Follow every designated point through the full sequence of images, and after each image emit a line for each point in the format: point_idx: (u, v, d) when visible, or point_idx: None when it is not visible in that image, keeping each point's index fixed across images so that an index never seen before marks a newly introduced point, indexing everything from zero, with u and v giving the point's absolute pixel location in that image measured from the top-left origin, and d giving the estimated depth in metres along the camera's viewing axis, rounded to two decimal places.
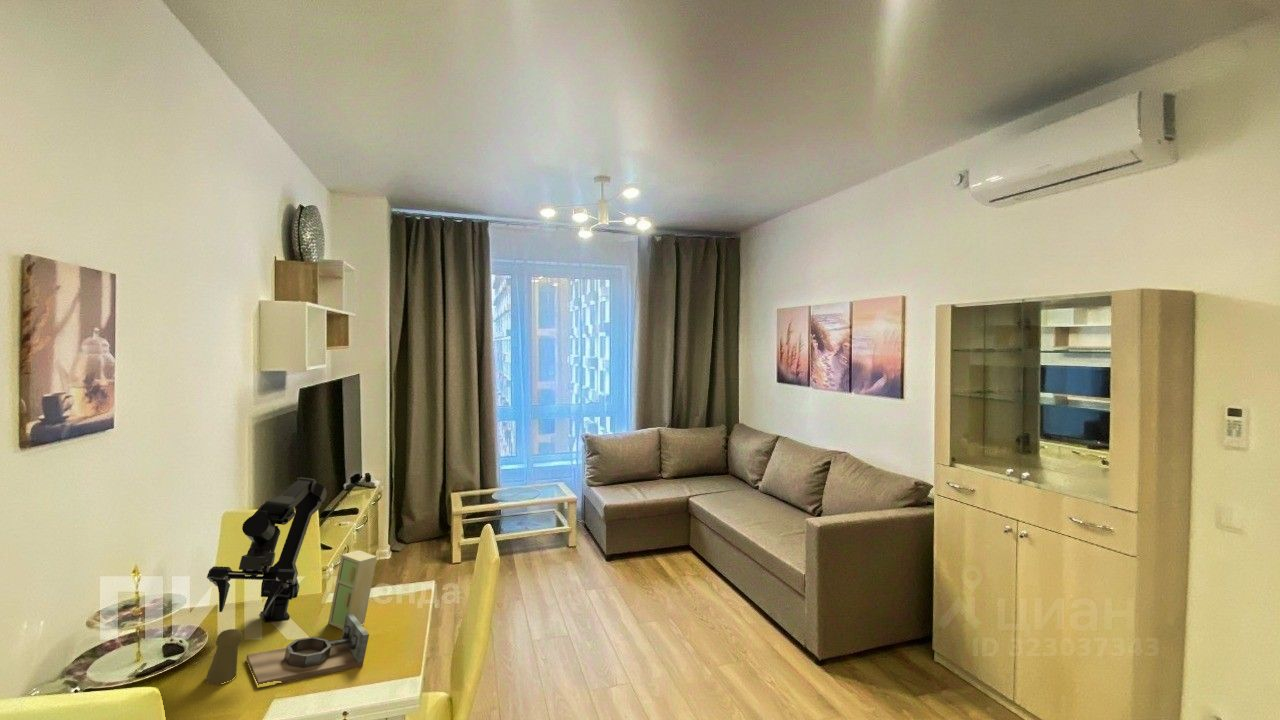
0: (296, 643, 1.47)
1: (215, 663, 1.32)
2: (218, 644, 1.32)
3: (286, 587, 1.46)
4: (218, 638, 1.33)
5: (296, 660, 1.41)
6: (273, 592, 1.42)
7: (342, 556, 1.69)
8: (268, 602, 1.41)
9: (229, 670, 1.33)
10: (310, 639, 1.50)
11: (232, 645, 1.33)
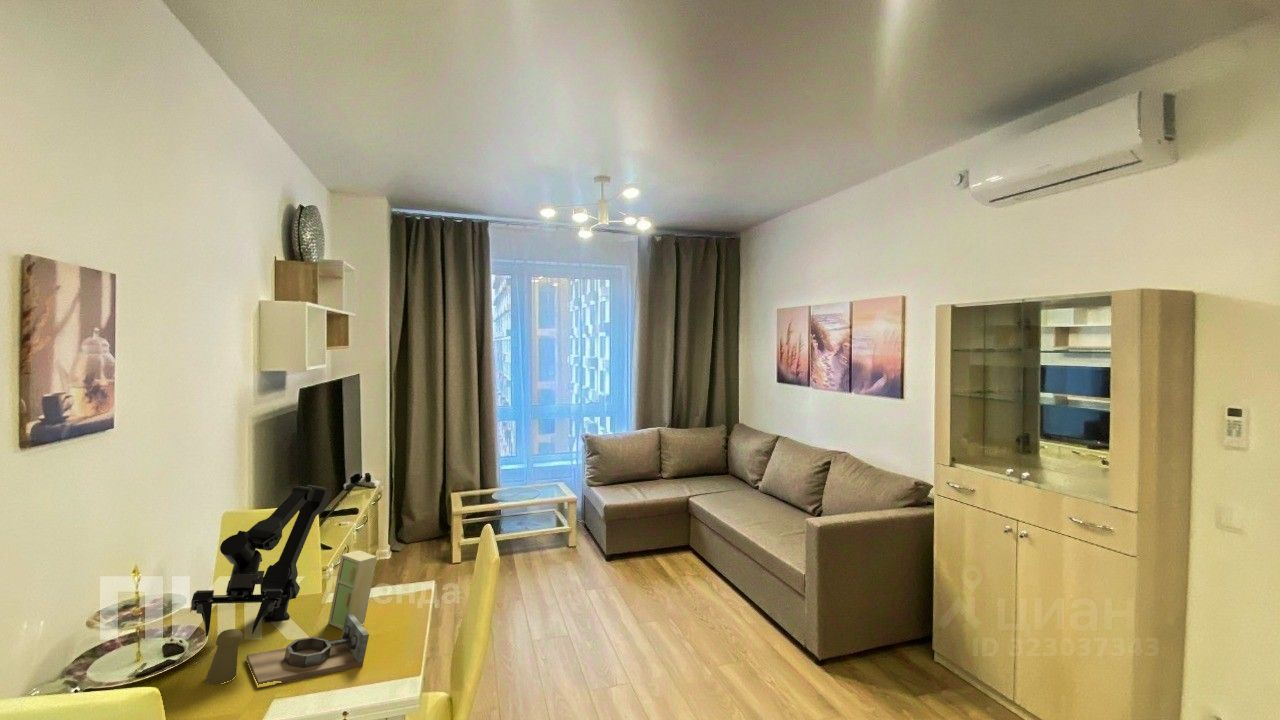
0: (296, 643, 1.47)
1: (215, 663, 1.32)
2: (218, 644, 1.32)
3: (271, 610, 1.45)
4: (218, 638, 1.33)
5: (296, 660, 1.41)
6: (261, 612, 1.41)
7: (342, 556, 1.69)
8: (257, 622, 1.40)
9: (229, 670, 1.33)
10: (310, 639, 1.50)
11: (232, 645, 1.33)
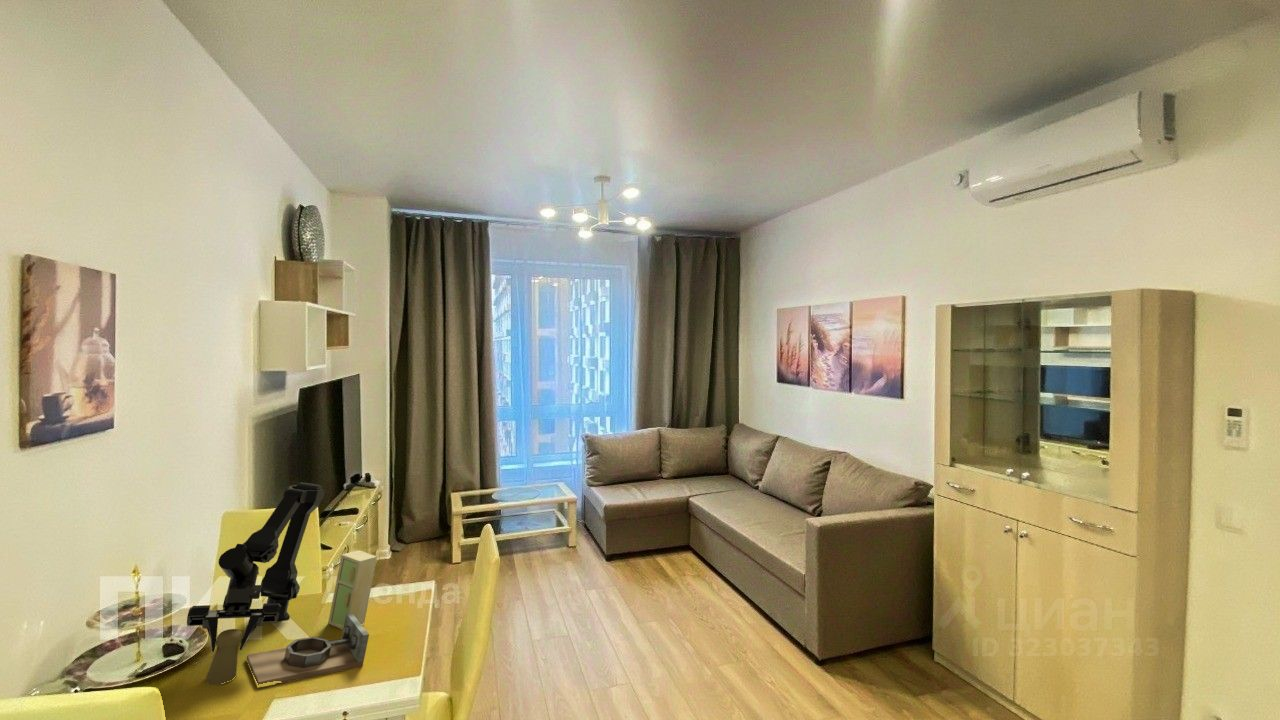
0: (296, 643, 1.47)
1: (215, 663, 1.32)
2: (218, 644, 1.32)
3: (260, 624, 1.42)
4: (218, 638, 1.33)
5: (296, 660, 1.41)
6: (250, 628, 1.37)
7: (342, 556, 1.69)
8: (245, 638, 1.36)
9: (229, 670, 1.33)
10: (310, 639, 1.50)
11: (232, 645, 1.33)
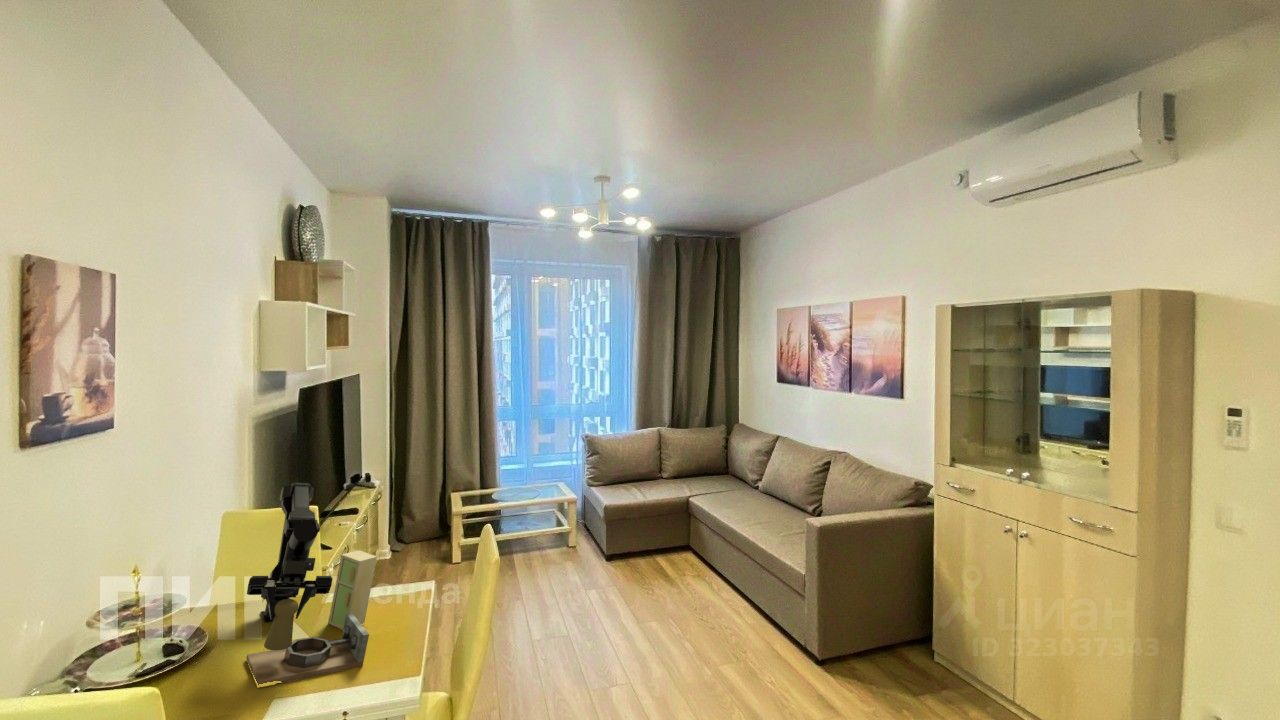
0: (296, 643, 1.47)
1: (273, 630, 1.40)
2: (276, 612, 1.40)
3: (313, 595, 1.49)
4: (276, 607, 1.40)
5: (296, 660, 1.41)
6: (305, 598, 1.45)
7: (342, 556, 1.69)
8: (301, 608, 1.43)
9: (286, 637, 1.41)
10: (310, 639, 1.50)
11: (289, 614, 1.41)
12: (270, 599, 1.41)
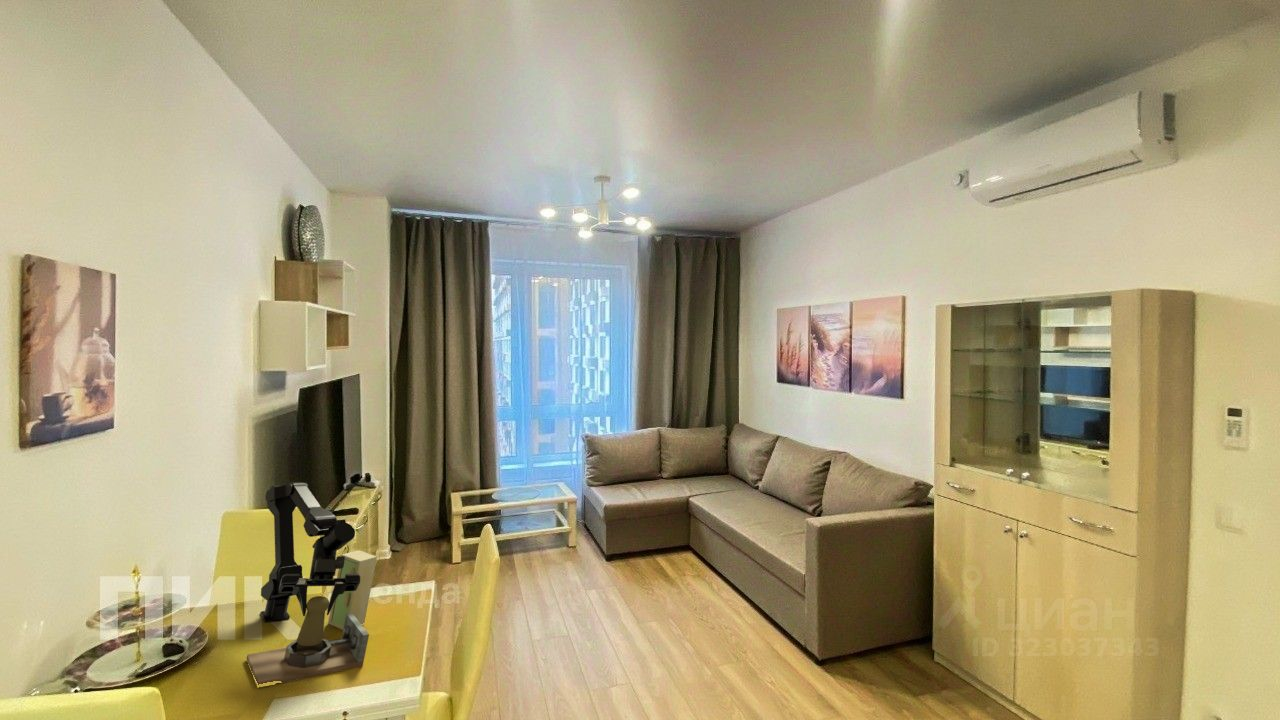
0: (296, 643, 1.47)
1: (306, 626, 1.44)
2: (309, 609, 1.44)
3: (342, 593, 1.54)
4: (308, 603, 1.45)
5: (296, 660, 1.41)
6: (335, 595, 1.50)
7: None
8: (331, 604, 1.48)
9: (318, 633, 1.45)
10: None
11: (321, 610, 1.45)
12: (302, 596, 1.46)
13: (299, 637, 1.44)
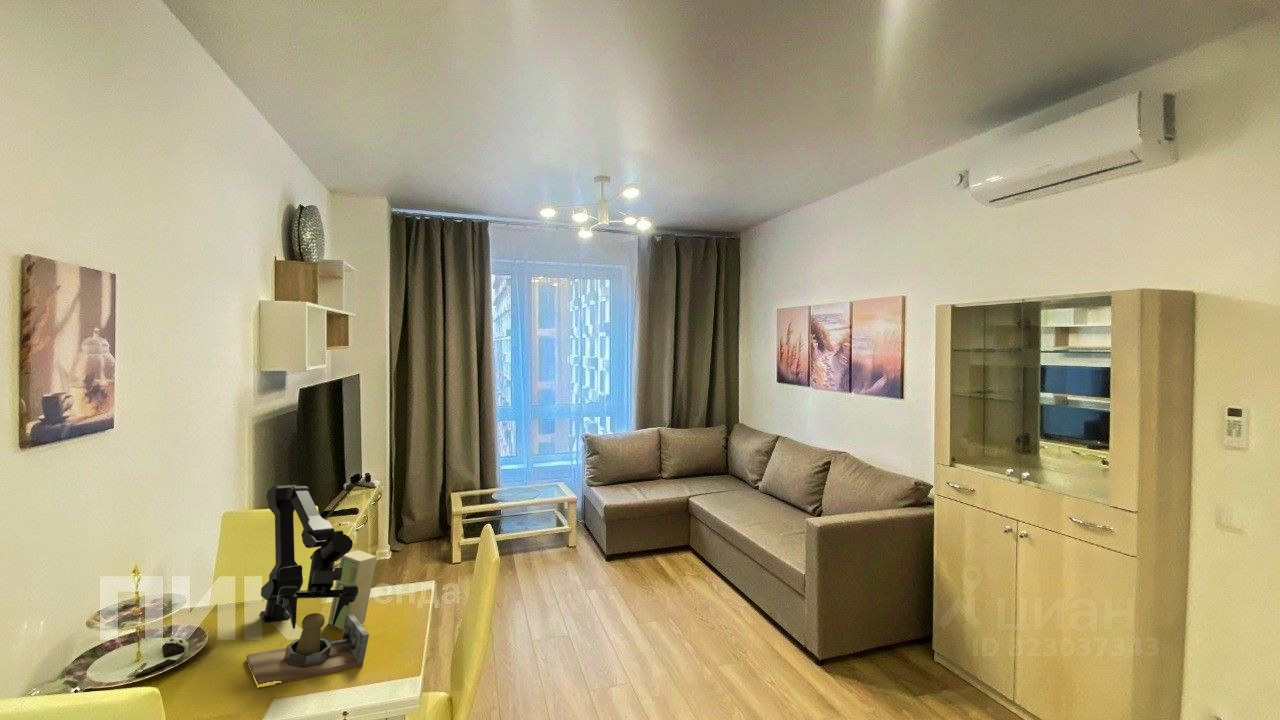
0: (296, 643, 1.47)
1: (302, 644, 1.44)
2: (304, 627, 1.44)
3: (347, 604, 1.55)
4: (304, 621, 1.45)
5: (296, 660, 1.41)
6: (340, 606, 1.50)
7: None
8: (336, 616, 1.49)
9: (314, 650, 1.45)
10: None
11: (317, 628, 1.45)
12: (292, 609, 1.45)
13: None
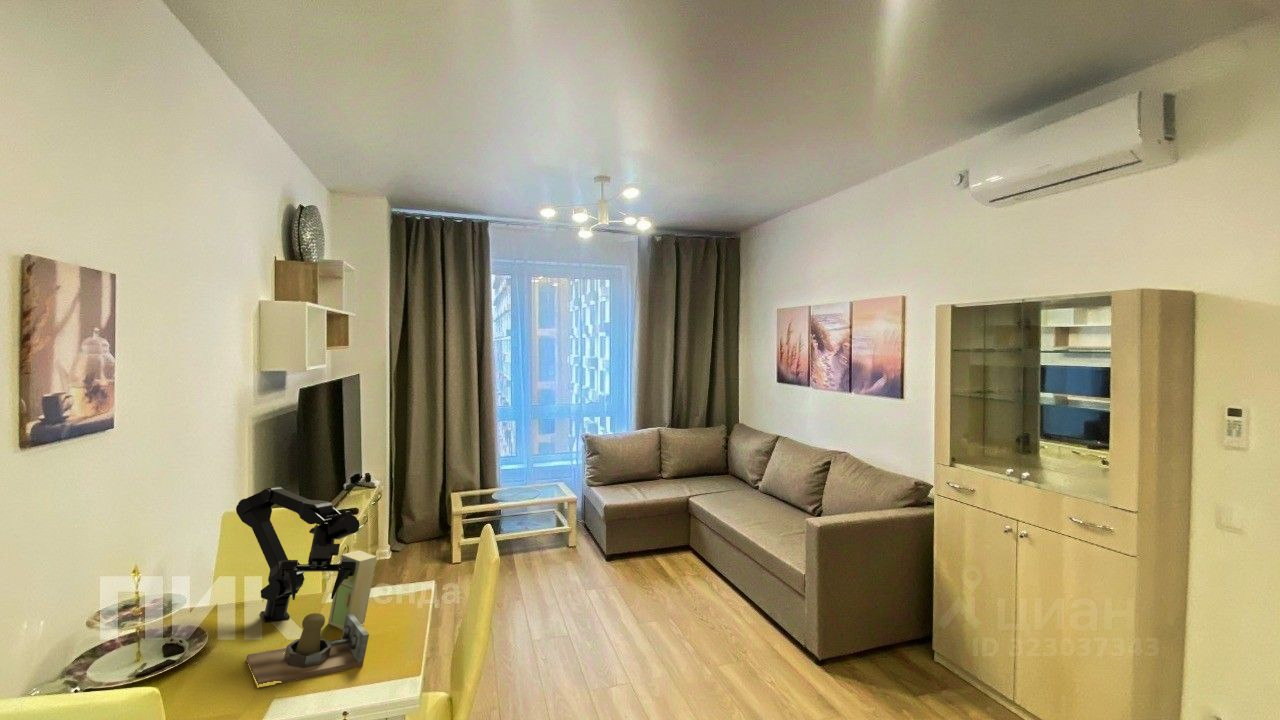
0: (296, 643, 1.47)
1: (302, 644, 1.44)
2: (305, 626, 1.44)
3: (347, 578, 1.62)
4: (304, 621, 1.45)
5: (296, 660, 1.41)
6: (339, 580, 1.58)
7: (342, 556, 1.69)
8: (335, 589, 1.56)
9: (314, 650, 1.45)
10: None
11: (317, 628, 1.45)
12: (292, 581, 1.53)
13: None
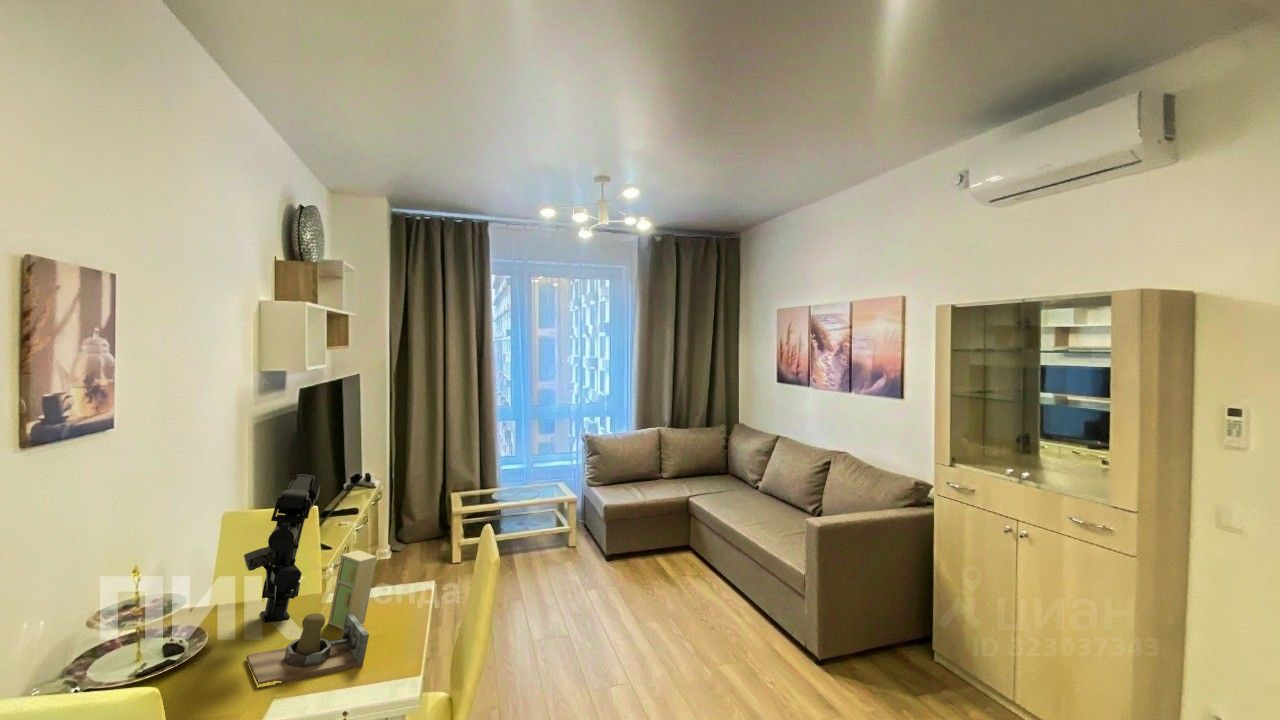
0: (296, 643, 1.47)
1: (302, 644, 1.44)
2: (305, 626, 1.44)
3: None
4: (304, 621, 1.45)
5: (296, 660, 1.41)
6: (275, 588, 1.47)
7: (342, 556, 1.69)
8: (275, 596, 1.48)
9: (314, 650, 1.45)
10: None
11: (317, 628, 1.45)
12: (266, 573, 1.55)
13: None
